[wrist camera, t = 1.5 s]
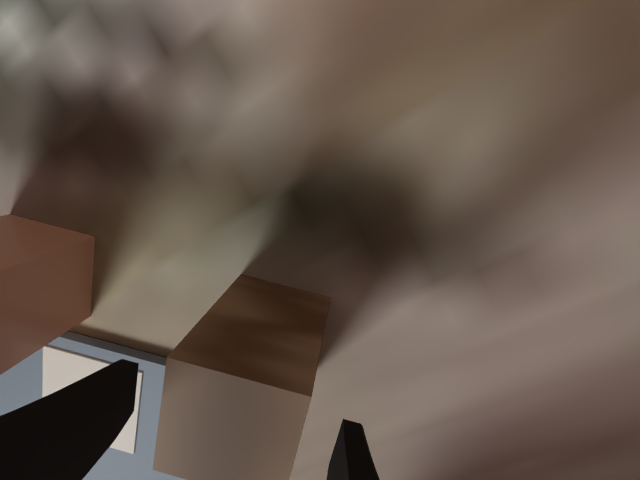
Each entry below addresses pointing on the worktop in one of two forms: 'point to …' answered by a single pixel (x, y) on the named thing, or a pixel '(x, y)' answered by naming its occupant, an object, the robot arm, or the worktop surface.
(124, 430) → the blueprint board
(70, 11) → the worktop surface
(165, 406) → the walnut pillar
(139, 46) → the worktop surface
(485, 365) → the worktop surface
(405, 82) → the worktop surface
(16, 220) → the terracotta pillar
